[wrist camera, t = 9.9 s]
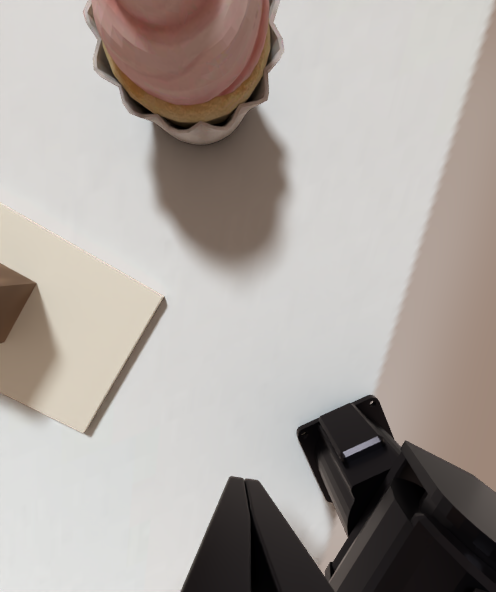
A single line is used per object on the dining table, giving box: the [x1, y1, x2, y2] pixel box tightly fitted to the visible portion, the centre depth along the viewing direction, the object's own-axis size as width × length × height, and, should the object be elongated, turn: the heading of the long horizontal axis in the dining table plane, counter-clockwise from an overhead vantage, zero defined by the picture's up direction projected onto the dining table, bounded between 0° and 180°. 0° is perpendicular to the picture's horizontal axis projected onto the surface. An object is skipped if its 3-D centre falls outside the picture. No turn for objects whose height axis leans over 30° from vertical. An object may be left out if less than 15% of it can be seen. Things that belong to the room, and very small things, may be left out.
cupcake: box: [83, 0, 284, 145], centre depth 12 cm, size 9×9×10 cm
